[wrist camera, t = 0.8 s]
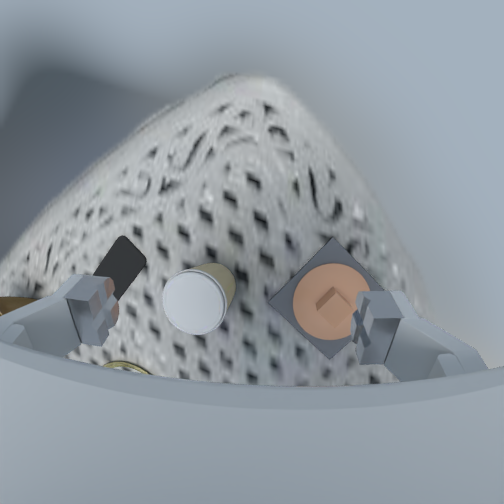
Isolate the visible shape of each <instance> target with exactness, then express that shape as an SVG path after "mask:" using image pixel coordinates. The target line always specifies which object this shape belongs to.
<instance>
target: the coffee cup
mask: <svg viewBox="0 0 504 504" xmlns="http://www.w3.org/2000/svg"><path fill="white" fill-rule="evenodd" d="M235 290H236V282H235V278H234V276H233V274H232V273H231V271H230V270H229V269H228V268H226V267H225V266H223V265H221V264H218V263H207V264H203V265H200V266H197V267H194V268H191V269H186V270H182V271H180V272H178V273H176V274H174V275H173V276H172V277H171V278H170V279H169V280H168V282H167V283H166V285H165V287H164V290H163V295H162V302H163V309H164V312H165V314H166V316H167V318H168V319H169V321H170V322H171V323H172V324H173V325H174V326H175V327H176V328H178V329H179V330H181V331H183V332H186V333H189V334H195V335H201V334H206V333H209V332H211V331H213V330H215V329H216V328H217V327H218V326H219V325H220V324H221V323H222V321H223V320H224V317H225V315H226V312H227V310H228V307H229V305H230V303H231V301H232V299H233V297H234V294H235Z"/></svg>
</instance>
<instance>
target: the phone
mask: <svg viewBox="0 0 504 504" xmlns="http://www.w3.org/2000/svg"><path fill="white" fill-rule="evenodd" d="M145 264H146V257H145V256H144V255H143V254H142V253H141V252H140V251H139V250H138V249H137V248H136V247H135V246H134V244H133V243H132V242H131V241H130V240H129V239H128V238H127V237H125V236H120V237H118V239H117V240H116V241H115V243H114V244H113V246H112V247H111V249H110V250H109V252H108V253H107V254H106V256H105V257H104V259H103V260H102V262H101V263H100V265H99V266H98V268H97V269H96V271H95V273H94V274H93V276H100V277H109V278H111V279H112V280H113V282H114V287H115V290H114V292H113V296H114V297H115V298H116V299H117V300H119V299H120V298H121V296H122V295H123V294H124V292H125V291H126V290H127V288H128V287H129V286H130V284H131V283H132V282H133V281H134V279H135V278H136V277H137V275H138V274H139V273H140V271H141V270H142V269H143V267H144V266H145Z"/></svg>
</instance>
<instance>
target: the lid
mask: <svg viewBox="0 0 504 504" xmlns="http://www.w3.org/2000/svg"><path fill="white" fill-rule="evenodd" d="M359 291H370V289H369V286H368V284H367V282H366V280H365V279H364V278H363V276H362V275H361V274H360V273H359V272H357V271H356V270H355V269H353V268H352V267H350V266H347V265H344V264H340V263H327V264H323V265H320V266H317V267H315V268H313V269H312V270H310V271H309V272H308V273H306V274H305V275H304V276H303V277H302V279H301V280H300V281H299V283H298V285H297V287H296V289H295V292H294V297H293V310H294V314H295V317H296V319H297V321H298V323H299V325H300V326H301V327H302V328H303V329H304V330H305V331H306V332H307V333H309V334H310V335H312V336H314V337H316V338H319V339H324V340H337V339H341V338H344V337H347V336H349V335H351V331H350V328H351V319H352V314H353V313H354V312H355V311H356V310H357V309H358V308H357V306H356V303H355V301H356V297H357V294H358V292H359Z"/></svg>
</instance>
